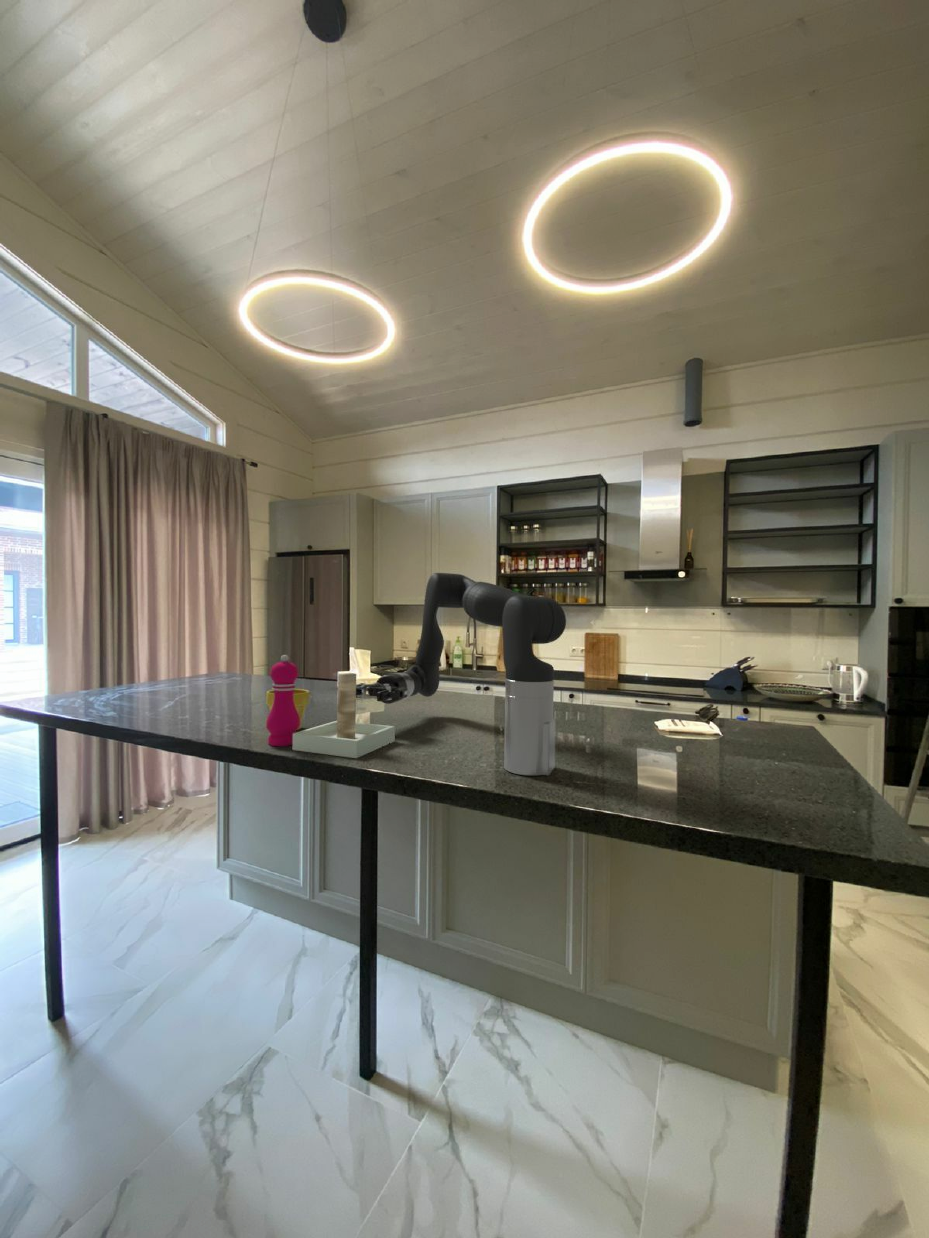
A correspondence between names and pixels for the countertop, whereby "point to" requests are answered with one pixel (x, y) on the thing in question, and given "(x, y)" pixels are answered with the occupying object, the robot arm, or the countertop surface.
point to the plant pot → (299, 701)
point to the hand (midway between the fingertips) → (362, 695)
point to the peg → (346, 705)
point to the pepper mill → (283, 704)
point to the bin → (343, 739)
